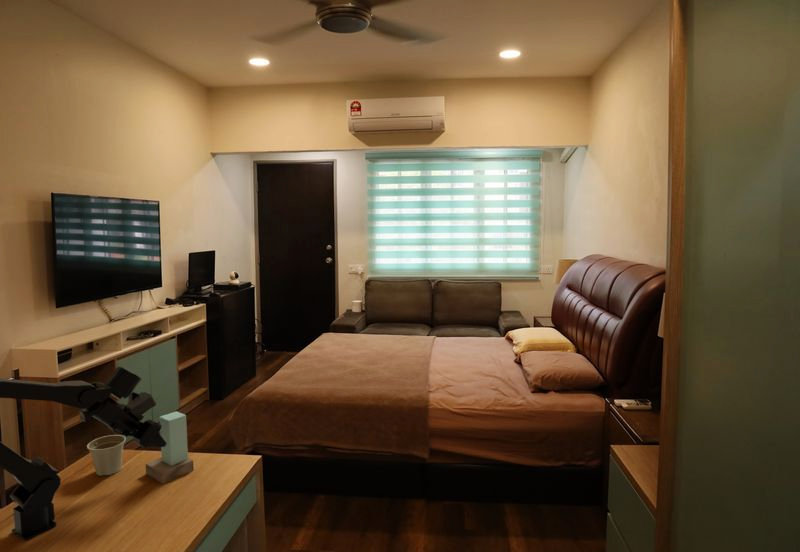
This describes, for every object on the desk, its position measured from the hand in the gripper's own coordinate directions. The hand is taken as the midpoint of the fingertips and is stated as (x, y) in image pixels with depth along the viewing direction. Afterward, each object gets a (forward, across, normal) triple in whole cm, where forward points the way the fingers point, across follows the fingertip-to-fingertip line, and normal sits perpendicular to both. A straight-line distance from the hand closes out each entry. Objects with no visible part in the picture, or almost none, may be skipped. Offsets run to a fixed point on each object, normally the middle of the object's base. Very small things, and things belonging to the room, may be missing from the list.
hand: (156, 440), depth 134 cm
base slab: (+10, 0, +5) cm, 11 cm away
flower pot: (+3, +15, +12) cm, 20 cm away
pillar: (+9, 0, +2) cm, 9 cm away
